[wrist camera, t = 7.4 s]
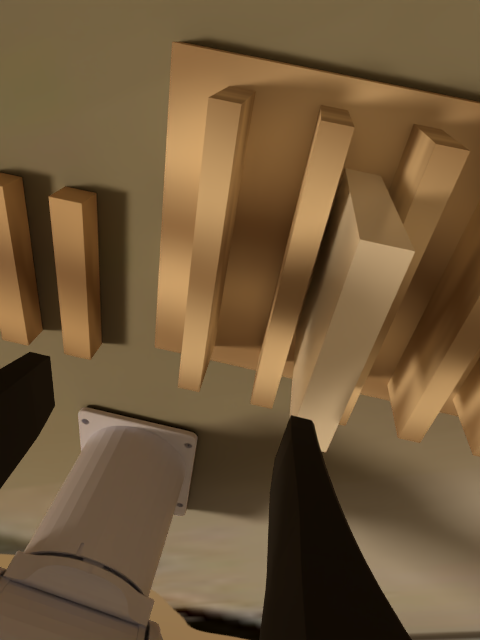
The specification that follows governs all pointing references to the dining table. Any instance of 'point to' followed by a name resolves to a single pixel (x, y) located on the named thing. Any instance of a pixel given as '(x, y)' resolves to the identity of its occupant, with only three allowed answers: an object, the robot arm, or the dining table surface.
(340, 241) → the upright beige panel
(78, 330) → the stand
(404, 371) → the rack
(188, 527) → the dining table surface
